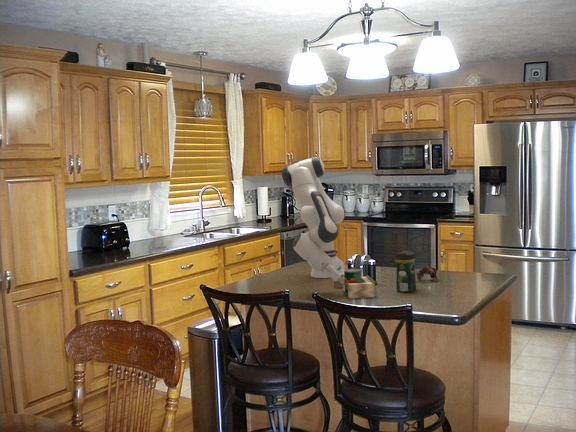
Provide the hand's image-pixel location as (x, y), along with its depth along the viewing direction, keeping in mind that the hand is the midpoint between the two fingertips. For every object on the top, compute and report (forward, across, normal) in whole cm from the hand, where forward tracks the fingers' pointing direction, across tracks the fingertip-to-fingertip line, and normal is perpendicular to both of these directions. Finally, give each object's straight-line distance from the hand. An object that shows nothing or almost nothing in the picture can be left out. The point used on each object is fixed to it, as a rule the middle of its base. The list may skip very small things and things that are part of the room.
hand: (343, 282), depth 283 cm
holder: (+9, 0, -1) cm, 9 cm away
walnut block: (+4, +18, +3) cm, 19 cm away
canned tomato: (+7, 0, +1) cm, 7 cm away
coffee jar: (+24, +1, -17) cm, 30 cm away
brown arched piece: (+36, +23, -28) cm, 51 cm away
